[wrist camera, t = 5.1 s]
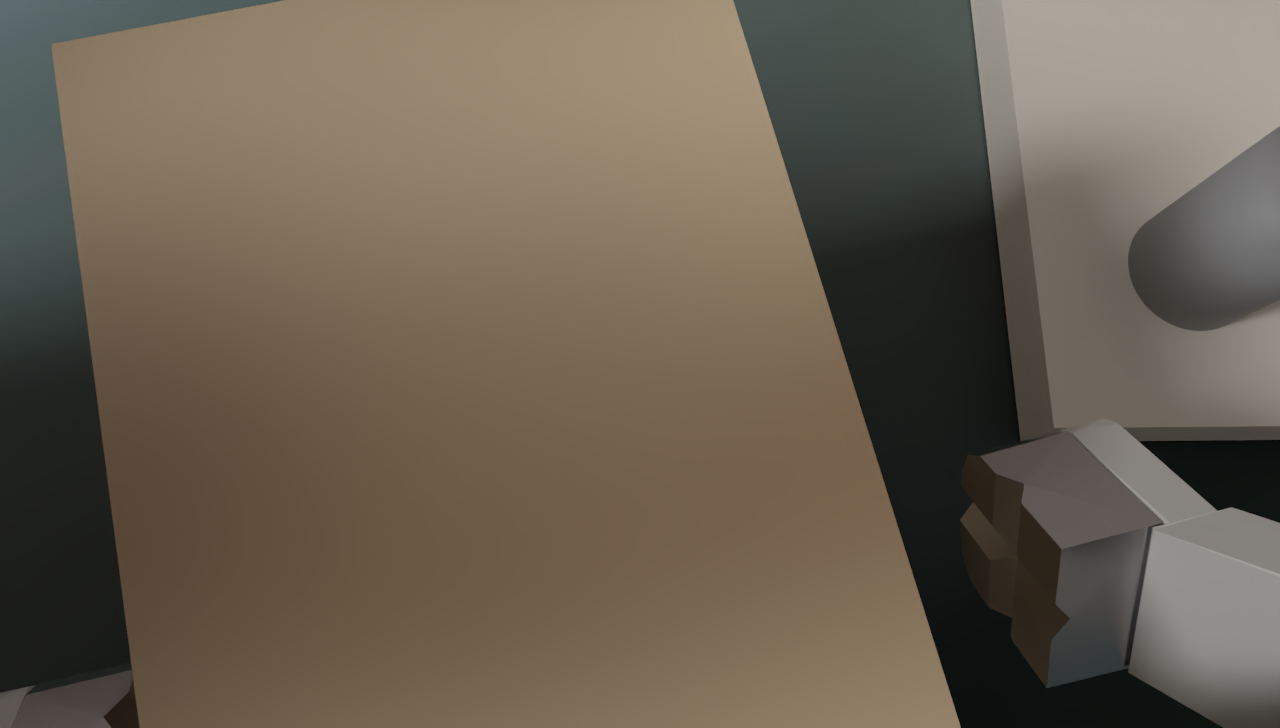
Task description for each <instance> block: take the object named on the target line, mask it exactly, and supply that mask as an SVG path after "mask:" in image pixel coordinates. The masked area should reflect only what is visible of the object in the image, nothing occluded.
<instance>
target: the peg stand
mask: <svg viewBox="0 0 1280 728" xmlns="http://www.w3.org/2000/svg"><path fill="white" fill-rule="evenodd" d="M971 9H972V18H973V27H974V36H975V45H976V53H977V62H978V71H979V80H980V89H981V98H982V106H983V115H984V124H985V133H986V142H987V150H988V159H989V168H990V177H991V186H992V195H993V203H994V212H995V221H996V230H997V239H998V248H999V256H1000V265H1001V274H1002V283H1003V292H1004V301H1005V309H1006V318H1007V327H1008V336H1009V345H1010V354H1011V362H1012V371H1013V380H1014V389H1015V398H1016V406H1017V415H1018V424H1019V433H1020V441H1024V440H1028V439H1031V438H1035V437H1039V436H1043V435H1047V434H1051V433H1057V432H1058V431H1059V430H1063V429H1067V428H1070V427H1074V426H1078V425H1081V424H1085V423H1089V422H1093V421H1096V420H1100V419H1104V418H1105V419H1108V420H1111V421H1114V422H1116V423H1118V424H1119V425H1121V426H1122V427H1123V428H1124V429H1125V430H1126V431H1127V432H1128V433H1130V434H1131V435H1132V436H1133V437H1134V438H1135V439H1136V440H1138V441H1210V440H1280V0H971Z"/></svg>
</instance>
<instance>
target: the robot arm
mask: <svg viewBox="0 0 1280 728" xmlns="http://www.w3.org/2000/svg"><path fill="white" fill-rule="evenodd" d="M961 487H962V488H963V490H964V491H965V492H966V493H967V495H968V496H969V497H970V498H971V500H972V501H973V503H972V504H971V505H970V507H969V508H968V510H967V511H966V512H965V514H964V515H963V517H962V518H961V519H960V547H961V551H962V555H963V558H964V562H965V566H966V570H967V572H968V574H969V576H970V579H971V581H972V583H973V585H974V587H975V589H976V590H977V592H978V593H979V595H980V596H981V598H982V599H983V600H984V602H985V603H986V605H987V606H988V607H989V608H991V609H993V610H996V611H998V612H1000V613H1002V614H1004V615H1006V616H1008V617H1011V618H1012V626H1011V640H1012V641H1013V643H1014V644H1015V645H1016V647H1017V648H1018V649H1019V651H1020V652H1021V654H1022V655H1023V656H1024V658H1025V659H1026V660H1027V662H1028V663H1029V665H1030V666H1031V667H1032V669H1033V670H1034V671H1035V673H1036V674H1037V676H1038V677H1039V678H1040V680H1041V681H1042V682H1043V684H1044V685H1045V687H1046V688H1049V687H1054V686H1058V685H1062V684H1066V683H1070V682H1074V681H1078V680H1082V679H1086V678H1090V677H1094V676H1098V675H1102V674H1106V673H1110V672H1114V671H1118V670H1122V669H1127V668H1129V670H1128V673H1130V674H1132V675H1133V676H1135V677H1137V678H1139V679H1140V680H1142V681H1144V682H1145V683H1147V684H1149V685H1151V686H1152V687H1154V688H1156V689H1157V690H1159V691H1161V692H1163V693H1164V694H1166V695H1168V696H1170V697H1171V698H1173V699H1175V700H1176V701H1178V702H1180V703H1182V704H1183V705H1185V706H1187V707H1189V708H1190V709H1192V710H1194V711H1195V712H1197V713H1199V714H1201V715H1202V716H1204V717H1206V718H1207V719H1209V720H1211V721H1213V722H1214V723H1216V724H1218V725H1220V726H1221V727H1223V728H1280V523H1278V522H1275V521H1272V520H1269V519H1266V518H1263V517H1260V516H1257V515H1254V514H1251V513H1248V512H1245V511H1242V510H1239V509H1236V508H1233V507H1231V508H1227V509H1223V510H1219V511H1217V510H1216V509H1215V508H1214V507H1213V506H1212V505H1210V504H1209V503H1208V502H1207V501H1206V500H1205V499H1204V498H1203V497H1201V496H1200V495H1199V494H1198V493H1197V492H1196V491H1195V490H1193V489H1192V488H1191V487H1190V486H1189V485H1188V484H1187V483H1185V482H1184V481H1183V480H1182V479H1181V478H1180V477H1179V476H1177V475H1176V474H1175V473H1174V472H1173V471H1172V470H1171V469H1169V468H1168V467H1167V466H1166V465H1165V464H1164V463H1163V462H1162V461H1160V460H1159V459H1158V458H1157V457H1156V456H1155V455H1154V454H1152V453H1151V452H1150V451H1149V450H1148V449H1147V448H1146V447H1144V446H1143V445H1142V444H1141V443H1140V442H1139V441H1138V440H1136V439H1135V438H1134V437H1133V436H1132V435H1131V434H1130V433H1128V432H1127V431H1126V430H1125V429H1124V428H1123V427H1122V426H1121V425H1119V424H1118V423H1116V422H1114V421H1111V420H1108V419H1105V418H1104V419H1100V420H1096V421H1093V422H1089V423H1085V424H1081V425H1078V426H1074V427H1070V428H1067V429H1063V430H1059V431H1058V432H1057V433H1051V434H1047V435H1043V436H1039V437H1035V438H1031V439H1028V440H1024V441H1020V442H1016V443H1012V444H1008V445H1004V446H1000V447H996V448H992V449H988V450H985V451H981V452H977V453H973V454H969V455H967V457H966V459H965V462H964V464H963V467H962V481H961ZM0 728H140V727H139V720H138V712H137V704H136V696H135V689H134V681H133V673H132V665H131V662H130V663H126V664H121V665H117V666H113V667H108V668H104V669H99V670H95V671H90V672H86V673H81V674H77V675H73V676H68V677H64V678H59V679H55V680H50V681H46V682H41V683H38V684H37V685H35V686H29V687H24V688H20V689H15V690H11V691H6V692H2V693H0Z"/></svg>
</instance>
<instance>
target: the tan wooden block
mask: <svg viewBox="0 0 1280 728" xmlns="http://www.w3.org/2000/svg"><path fill="white" fill-rule="evenodd" d="M51 47H52V55H53V62H54V70H55V78H56V85H57V93H58V101H59V109H60V116H61V124H62V132H63V140H64V147H65V155H66V163H67V171H68V178H69V186H70V194H71V201H72V209H73V217H74V225H75V232H76V240H77V248H78V256H79V263H80V271H81V279H82V287H83V294H84V302H85V310H86V317H87V325H88V333H89V341H90V348H91V356H92V364H93V372H94V379H95V387H96V395H97V403H98V410H99V418H100V426H101V433H102V441H103V449H104V457H105V464H106V472H107V480H108V488H109V495H110V503H111V511H112V519H113V526H114V534H115V542H116V549H117V557H118V565H119V573H120V580H121V588H122V596H123V604H124V611H125V619H126V627H127V635H128V642H129V650H130V658H131V665H132V673H133V681H134V689H135V696H136V704H137V712H138V720H139V727H140V728H961V726H960V723H959V720H958V717H957V714H956V710H955V707H954V704H953V701H952V698H951V694H950V691H949V688H948V685H947V682H946V678H945V675H944V672H943V669H942V666H941V663H940V659H939V656H938V653H937V650H936V647H935V643H934V640H933V637H932V634H931V631H930V627H929V624H928V621H927V618H926V615H925V611H924V608H923V605H922V602H921V599H920V595H919V592H918V589H917V586H916V583H915V580H914V576H913V573H912V570H911V567H910V564H909V560H908V557H907V554H906V551H905V548H904V544H903V541H902V538H901V535H900V532H899V528H898V525H897V522H896V519H895V516H894V513H893V509H892V506H891V503H890V500H889V497H888V493H887V490H886V487H885V484H884V481H883V477H882V474H881V471H880V468H879V465H878V461H877V458H876V455H875V452H874V449H873V445H872V442H871V439H870V436H869V433H868V430H867V426H866V423H865V420H864V417H863V414H862V410H861V407H860V404H859V401H858V398H857V394H856V391H855V388H854V385H853V382H852V378H851V375H850V372H849V369H848V366H847V363H846V359H845V356H844V353H843V350H842V347H841V343H840V340H839V337H838V334H837V331H836V327H835V324H834V321H833V318H832V315H831V311H830V308H829V305H828V302H827V299H826V295H825V292H824V289H823V286H822V283H821V280H820V276H819V273H818V270H817V267H816V264H815V260H814V257H813V254H812V251H811V248H810V244H809V241H808V238H807V235H806V232H805V228H804V225H803V222H802V219H801V216H800V213H799V209H798V206H797V203H796V200H795V197H794V193H793V190H792V187H791V184H790V181H789V177H788V174H787V171H786V168H785V165H784V161H783V158H782V155H781V152H780V149H779V145H778V142H777V139H776V136H775V133H774V130H773V126H772V123H771V120H770V117H769V114H768V110H767V107H766V104H765V101H764V98H763V94H762V91H761V88H760V85H759V82H758V78H757V75H756V72H755V69H754V66H753V63H752V59H751V56H750V53H749V50H748V47H747V43H746V40H745V37H744V34H743V31H742V27H741V24H740V21H739V18H738V15H737V11H736V8H735V5H734V2H733V0H285V1H280V2H274V3H269V4H264V5H258V6H253V7H247V8H242V9H237V10H231V11H226V12H221V13H215V14H210V15H205V16H199V17H194V18H189V19H183V20H178V21H173V22H167V23H162V24H157V25H151V26H146V27H141V28H135V29H130V30H125V31H119V32H114V33H108V34H103V35H98V36H92V37H87V38H82V39H76V40H71V41H66V42H60V43H55V44H51Z"/></svg>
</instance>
